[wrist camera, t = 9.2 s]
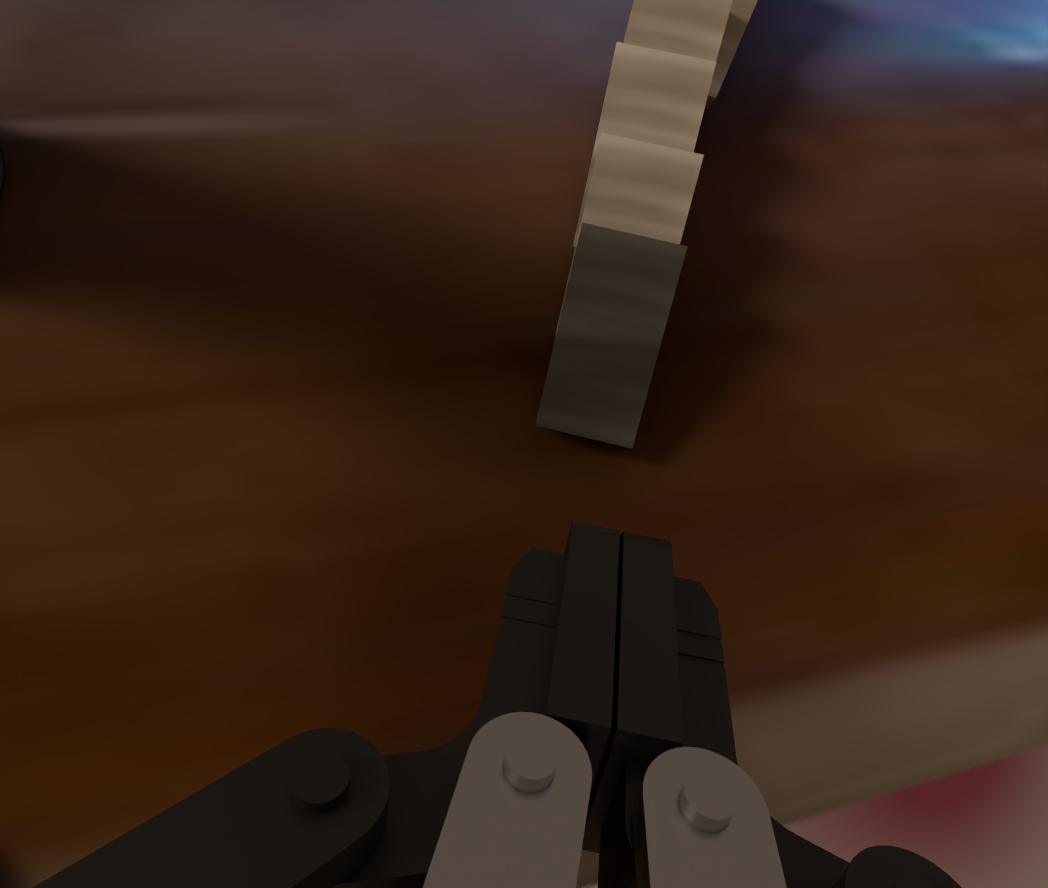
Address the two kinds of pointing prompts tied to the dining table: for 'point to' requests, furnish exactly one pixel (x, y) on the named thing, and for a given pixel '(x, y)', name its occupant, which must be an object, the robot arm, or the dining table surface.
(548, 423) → the domino
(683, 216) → the domino
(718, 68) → the domino
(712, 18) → the domino
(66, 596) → the dining table surface
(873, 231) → the dining table surface
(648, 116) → the domino
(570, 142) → the dining table surface
